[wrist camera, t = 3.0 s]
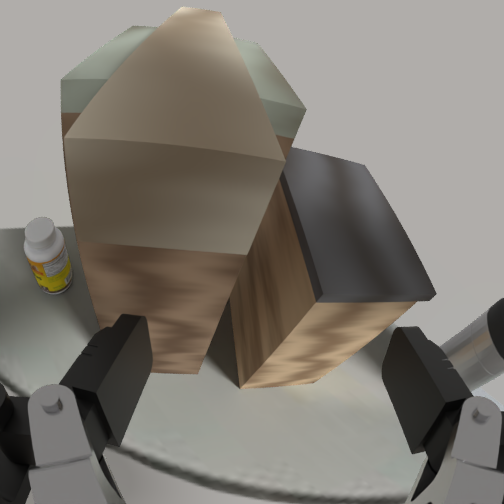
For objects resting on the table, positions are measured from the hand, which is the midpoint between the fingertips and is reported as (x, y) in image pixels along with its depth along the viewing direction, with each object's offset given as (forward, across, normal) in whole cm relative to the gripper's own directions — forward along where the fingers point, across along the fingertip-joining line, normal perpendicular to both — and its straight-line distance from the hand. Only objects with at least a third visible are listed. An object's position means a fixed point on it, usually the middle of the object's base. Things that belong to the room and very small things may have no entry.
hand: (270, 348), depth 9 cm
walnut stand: (+24, +13, +16) cm, 32 cm away
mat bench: (+27, -2, +18) cm, 33 cm away
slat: (+6, +4, -10) cm, 12 cm away
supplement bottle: (+24, +28, +12) cm, 39 cm away
